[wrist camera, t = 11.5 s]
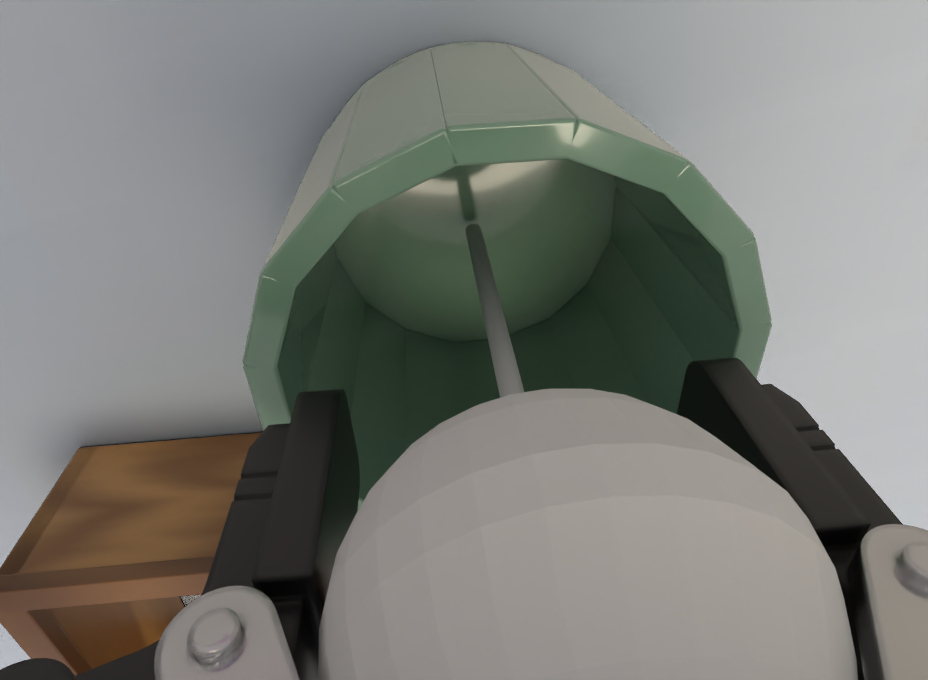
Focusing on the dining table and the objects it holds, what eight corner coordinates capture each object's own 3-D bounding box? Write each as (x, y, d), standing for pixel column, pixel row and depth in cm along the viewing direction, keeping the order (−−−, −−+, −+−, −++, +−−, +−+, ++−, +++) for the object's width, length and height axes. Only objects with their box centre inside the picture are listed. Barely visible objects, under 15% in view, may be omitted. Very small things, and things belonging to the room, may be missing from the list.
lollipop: (380, 103, 15) (262, 867, 3) (600, 137, 16) (1288, 821, 4) (362, 312, 18) (273, 1086, 6) (545, 330, 19) (800, 1032, 7)
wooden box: (177, 628, 29) (127, 774, 24) (74, 445, 22) (-26, 594, 17) (468, 600, 29) (481, 737, 24) (456, 413, 23) (469, 548, 18)
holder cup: (340, 354, 21) (304, 567, 14) (281, 52, 15) (171, 144, 8) (611, 333, 21) (713, 529, 14) (646, 30, 16) (839, 101, 9)
